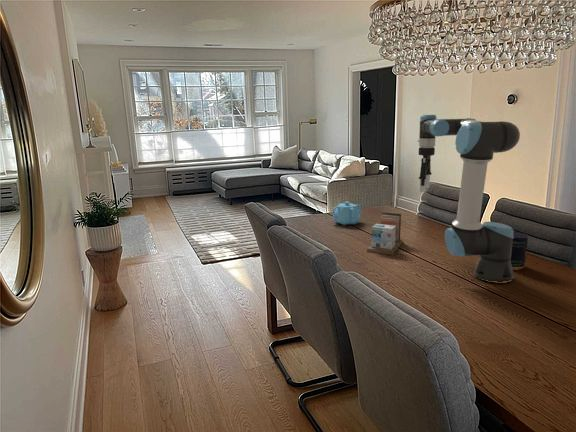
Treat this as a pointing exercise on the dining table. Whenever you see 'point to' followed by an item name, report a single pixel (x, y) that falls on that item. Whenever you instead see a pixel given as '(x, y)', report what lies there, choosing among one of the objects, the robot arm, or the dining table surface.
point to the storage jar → (519, 249)
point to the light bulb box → (383, 236)
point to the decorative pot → (346, 213)
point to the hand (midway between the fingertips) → (424, 189)
